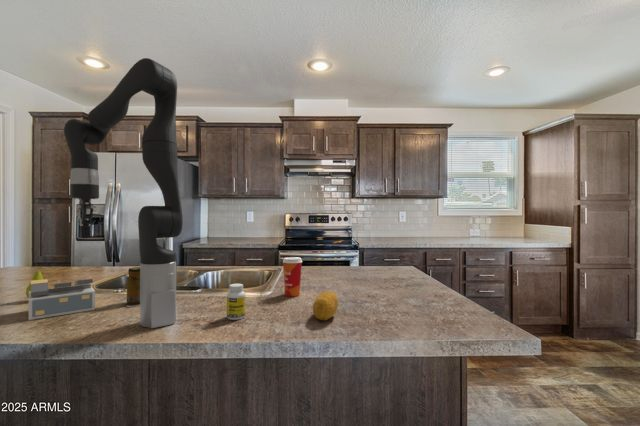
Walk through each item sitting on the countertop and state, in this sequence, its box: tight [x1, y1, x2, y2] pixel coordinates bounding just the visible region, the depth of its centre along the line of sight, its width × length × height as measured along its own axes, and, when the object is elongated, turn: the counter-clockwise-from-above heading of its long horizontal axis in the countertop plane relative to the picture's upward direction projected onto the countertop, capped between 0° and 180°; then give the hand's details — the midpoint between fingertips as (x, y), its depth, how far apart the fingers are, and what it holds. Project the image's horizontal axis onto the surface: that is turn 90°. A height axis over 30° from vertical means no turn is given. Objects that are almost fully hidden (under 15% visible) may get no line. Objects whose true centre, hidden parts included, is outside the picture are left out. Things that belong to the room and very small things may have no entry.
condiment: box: [122, 266, 140, 308], centre depth 114 cm, size 7×8×12 cm
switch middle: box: [52, 281, 72, 288], centre depth 105 cm, size 10×4×1 cm, turn 41°
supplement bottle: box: [226, 283, 246, 321], centre depth 99 cm, size 5×5×10 cm
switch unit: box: [28, 283, 96, 321], centre depth 105 cm, size 12×16×7 cm
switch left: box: [30, 278, 50, 296], centre depth 102 cm, size 10×4×1 cm, turn 41°
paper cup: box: [282, 256, 303, 297], centre depth 127 cm, size 8×8×14 cm
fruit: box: [25, 265, 44, 299], centre depth 116 cm, size 6×6×12 cm
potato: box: [312, 291, 339, 321], centre depth 100 cm, size 7×14×7 cm, turn 167°
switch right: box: [73, 278, 94, 286], centre depth 109 cm, size 10×4×1 cm, turn 41°
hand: (85, 237), depth 106 cm, fingers closed
